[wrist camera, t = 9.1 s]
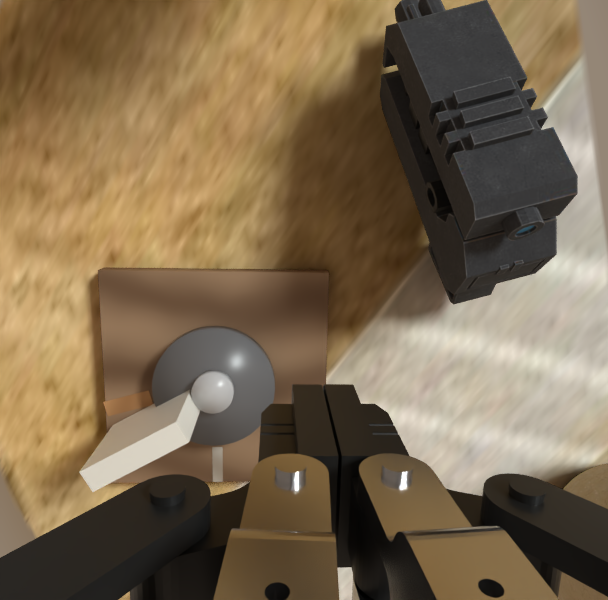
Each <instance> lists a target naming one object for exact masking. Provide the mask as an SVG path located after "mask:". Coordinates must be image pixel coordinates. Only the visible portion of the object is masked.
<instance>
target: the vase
mask: <svg viewBox="0 0 608 600" xmlns="http://www.w3.org/2000/svg"><path fill="white" fill-rule="evenodd" d="M563 490H565V491H568V492H570V493H572V494H575V495H577V496H579V497H582V498H584V499H586V500H588V501H591V502H593V503H595V504H598V505H600V506H602V507H605V508H607V509H608V464H603V465H598V466H596V467H593V468H590V469H588V470H586V471H584V472H582V473H581V474H579V475H577V476H576V477H575V478H573V479H572V480H571V481H570V482H569V483H568V484H567V485H566V486H565V487H564V489H563ZM558 596H559V600H608V597H607V596H605V595H603V594H601V593H600V592H598V591H596V590H594V589H592V588H591V587H589V586H587V585H585V584H583V583H581V582H580V581H578V580H576V579H574V578H572V577H571V576H569V575H567V574H565V573H563V572H562V574H561V581H560V587H559V594H558Z"/></svg>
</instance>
